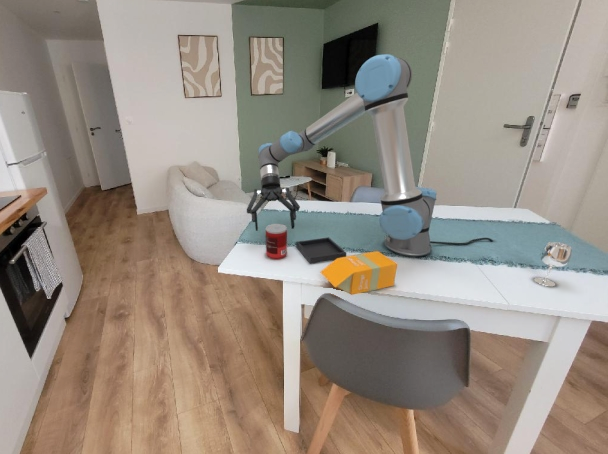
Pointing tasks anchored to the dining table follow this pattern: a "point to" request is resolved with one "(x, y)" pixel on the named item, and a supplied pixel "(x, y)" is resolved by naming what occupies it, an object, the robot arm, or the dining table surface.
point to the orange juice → (361, 272)
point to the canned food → (276, 241)
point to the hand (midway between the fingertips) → (274, 228)
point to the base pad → (320, 250)
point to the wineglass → (554, 259)
